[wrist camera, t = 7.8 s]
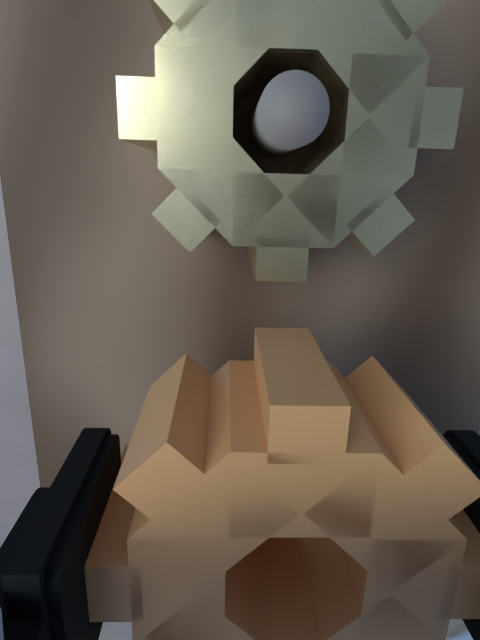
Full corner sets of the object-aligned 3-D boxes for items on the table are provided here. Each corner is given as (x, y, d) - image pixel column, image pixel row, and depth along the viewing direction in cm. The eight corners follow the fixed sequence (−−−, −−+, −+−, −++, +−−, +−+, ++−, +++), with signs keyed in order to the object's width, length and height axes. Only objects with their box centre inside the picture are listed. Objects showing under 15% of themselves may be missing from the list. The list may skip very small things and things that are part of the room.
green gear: (415, -13, 12) (491, -89, 8) (382, 258, 14) (432, 284, 11) (141, -24, 12) (105, -108, 8) (150, 253, 14) (125, 278, 10)
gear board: (551, -79, 13) (805, -277, 7) (440, 496, 19) (532, 632, 13) (-10, -106, 12) (-210, -344, 7) (58, 495, 19) (-16, 637, 13)
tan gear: (440, 330, 10) (549, 408, 7) (397, 578, 12) (463, 733, 9) (119, 324, 10) (62, 403, 6) (133, 579, 12) (97, 738, 9)
